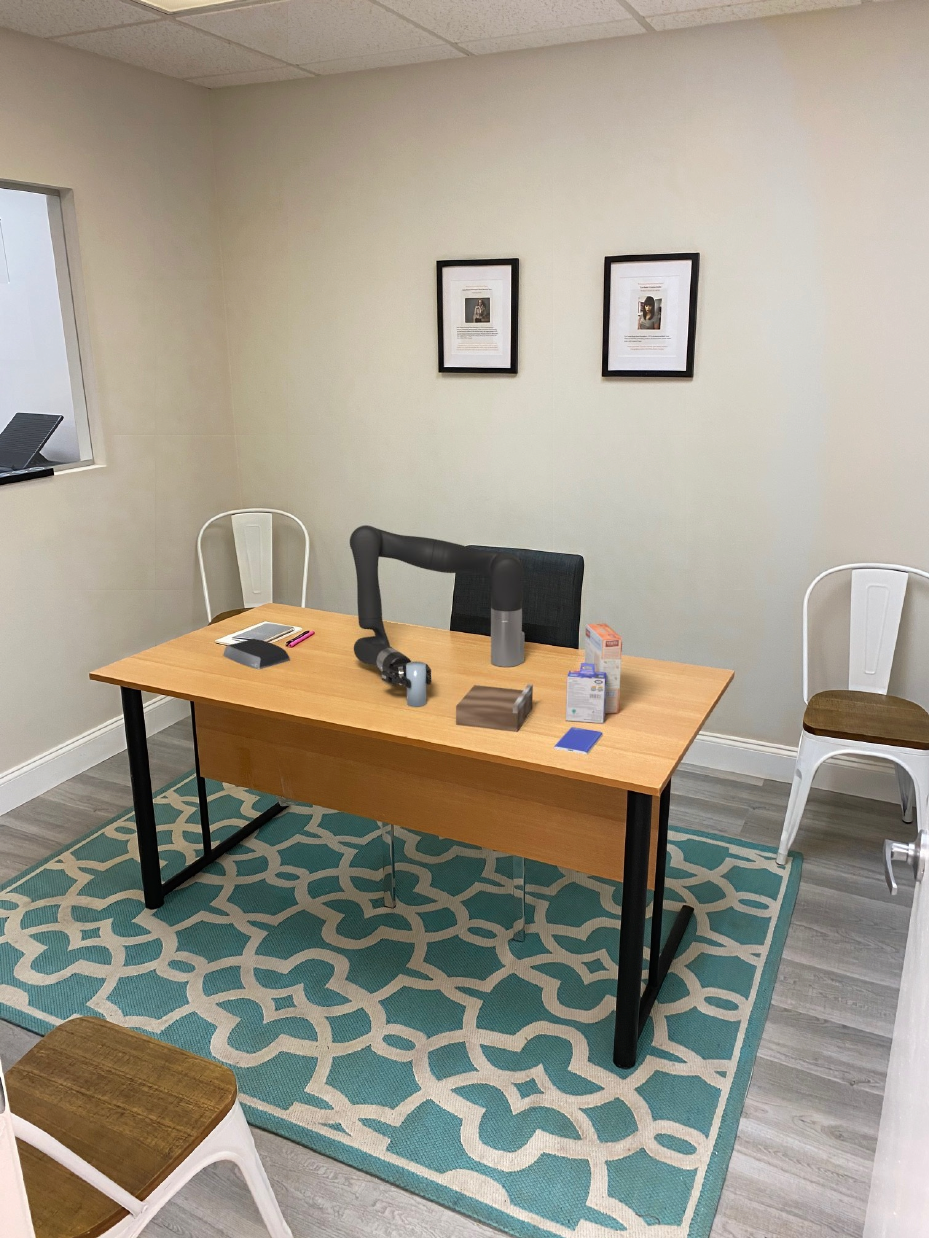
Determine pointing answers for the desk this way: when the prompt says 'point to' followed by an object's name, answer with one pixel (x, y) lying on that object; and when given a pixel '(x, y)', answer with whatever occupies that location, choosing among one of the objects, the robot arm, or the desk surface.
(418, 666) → the pale blue cylinder
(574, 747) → the hard drive
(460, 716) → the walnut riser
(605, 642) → the cracker box
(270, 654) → the external hard drive
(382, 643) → the robot arm
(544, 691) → the desk surface
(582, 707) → the ink cartridge box
